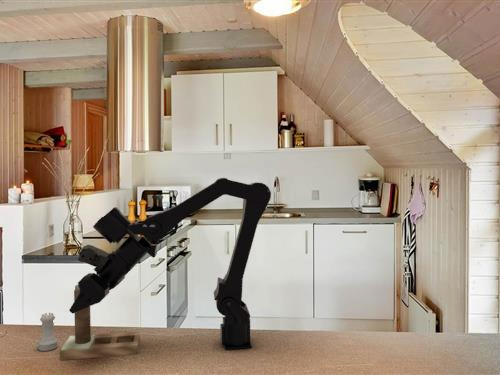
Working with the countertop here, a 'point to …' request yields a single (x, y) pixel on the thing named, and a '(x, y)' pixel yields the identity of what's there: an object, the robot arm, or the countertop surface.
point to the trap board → (101, 346)
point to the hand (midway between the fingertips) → (78, 305)
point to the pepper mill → (82, 322)
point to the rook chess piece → (47, 333)
